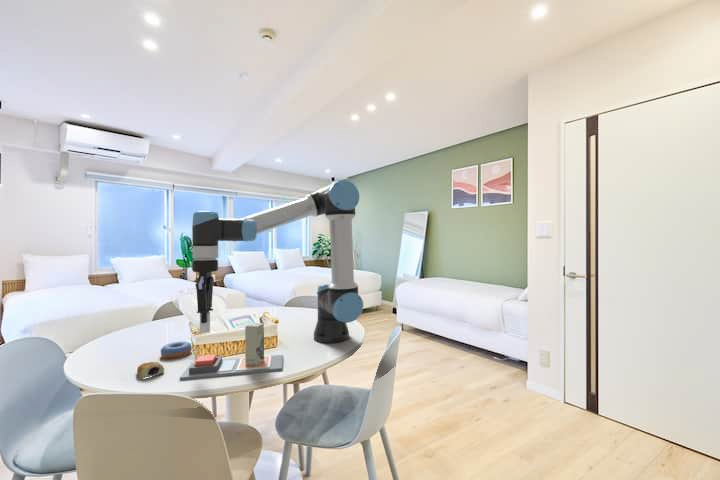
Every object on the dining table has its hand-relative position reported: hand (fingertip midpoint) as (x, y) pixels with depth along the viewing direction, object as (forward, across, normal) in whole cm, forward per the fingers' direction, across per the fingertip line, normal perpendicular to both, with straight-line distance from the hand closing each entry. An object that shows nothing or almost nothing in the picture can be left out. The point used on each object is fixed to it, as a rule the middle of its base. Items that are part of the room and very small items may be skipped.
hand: (204, 332), depth 102 cm
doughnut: (+13, -18, -14) cm, 26 cm away
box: (+11, 0, +16) cm, 19 cm away
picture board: (+12, 0, +9) cm, 15 cm away
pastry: (+13, -2, -17) cm, 21 cm away
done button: (+10, 0, 0) cm, 10 cm away
